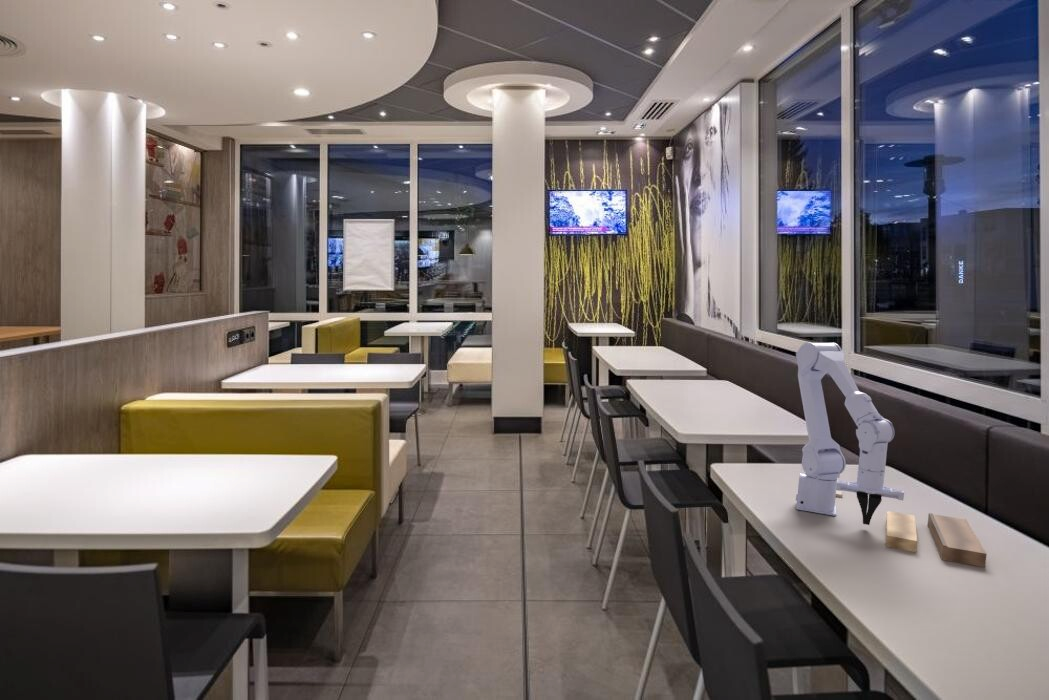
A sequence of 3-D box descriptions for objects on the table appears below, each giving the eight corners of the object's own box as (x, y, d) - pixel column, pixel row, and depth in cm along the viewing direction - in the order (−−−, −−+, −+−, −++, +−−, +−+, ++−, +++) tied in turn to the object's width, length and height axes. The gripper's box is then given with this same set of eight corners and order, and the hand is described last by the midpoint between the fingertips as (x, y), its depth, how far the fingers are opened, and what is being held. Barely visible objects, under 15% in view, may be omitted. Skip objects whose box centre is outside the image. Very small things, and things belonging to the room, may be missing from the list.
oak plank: (885, 547, 154) (886, 535, 154) (886, 522, 172) (887, 510, 171) (915, 553, 151) (917, 541, 151) (913, 527, 169) (914, 515, 169)
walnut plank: (941, 559, 148) (943, 545, 147) (927, 525, 170) (928, 512, 169) (984, 567, 145) (986, 553, 144) (964, 531, 166) (966, 518, 166)
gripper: (838, 468, 162) (833, 522, 164) (907, 477, 156) (901, 534, 158) (838, 461, 169) (833, 514, 170) (904, 470, 163) (898, 525, 164)
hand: (866, 523), depth 164 cm, fingers closed
